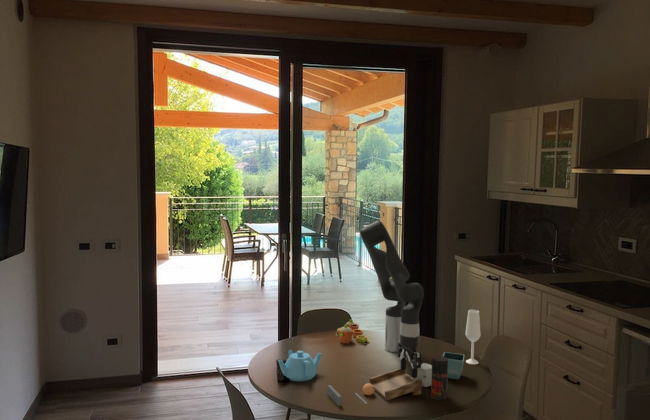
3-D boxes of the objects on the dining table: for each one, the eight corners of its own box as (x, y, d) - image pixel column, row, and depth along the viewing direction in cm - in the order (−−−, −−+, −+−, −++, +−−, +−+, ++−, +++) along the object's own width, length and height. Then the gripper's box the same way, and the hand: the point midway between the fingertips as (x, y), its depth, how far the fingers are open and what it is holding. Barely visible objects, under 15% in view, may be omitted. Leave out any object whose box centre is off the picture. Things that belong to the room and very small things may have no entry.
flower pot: (464, 374, 217) (464, 354, 217) (462, 382, 209) (463, 361, 208) (443, 371, 220) (443, 351, 219) (441, 379, 212) (441, 358, 211)
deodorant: (429, 393, 197) (430, 356, 196) (444, 393, 197) (445, 355, 197) (433, 400, 191) (434, 361, 190) (449, 400, 192) (450, 361, 191)
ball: (372, 389, 199) (362, 394, 197) (369, 379, 198) (359, 384, 196) (377, 394, 194) (367, 399, 193) (374, 384, 194) (364, 388, 192)
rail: (330, 393, 196) (330, 384, 195) (341, 405, 185) (341, 396, 185) (327, 394, 195) (327, 385, 195) (338, 406, 185) (338, 396, 185)
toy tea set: (370, 346, 254) (370, 327, 253) (340, 347, 252) (340, 328, 251) (359, 330, 280) (359, 313, 279) (331, 331, 278) (332, 314, 277)
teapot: (275, 380, 208) (275, 355, 207) (288, 368, 222) (288, 344, 221) (310, 385, 203) (311, 359, 203) (321, 372, 218) (322, 347, 217)
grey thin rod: (351, 388, 201) (351, 387, 201) (368, 403, 187) (368, 403, 187) (349, 388, 201) (349, 388, 201) (365, 404, 187) (365, 403, 187)
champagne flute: (463, 364, 230) (465, 312, 228) (465, 359, 236) (466, 308, 234) (479, 366, 227) (480, 313, 226) (480, 361, 233) (482, 310, 232)
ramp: (403, 381, 209) (404, 366, 209) (422, 394, 196) (422, 379, 196) (368, 386, 203) (369, 371, 203) (385, 400, 190) (385, 385, 190)
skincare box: (414, 382, 208) (414, 365, 207) (424, 379, 211) (424, 362, 211) (425, 387, 203) (426, 369, 202) (435, 384, 206) (436, 366, 206)
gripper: (392, 329, 206) (391, 368, 207) (410, 339, 193) (409, 381, 194) (408, 327, 209) (407, 366, 210) (427, 337, 195) (426, 378, 196)
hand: (408, 373), depth 202 cm, fingers open, 8 cm apart
